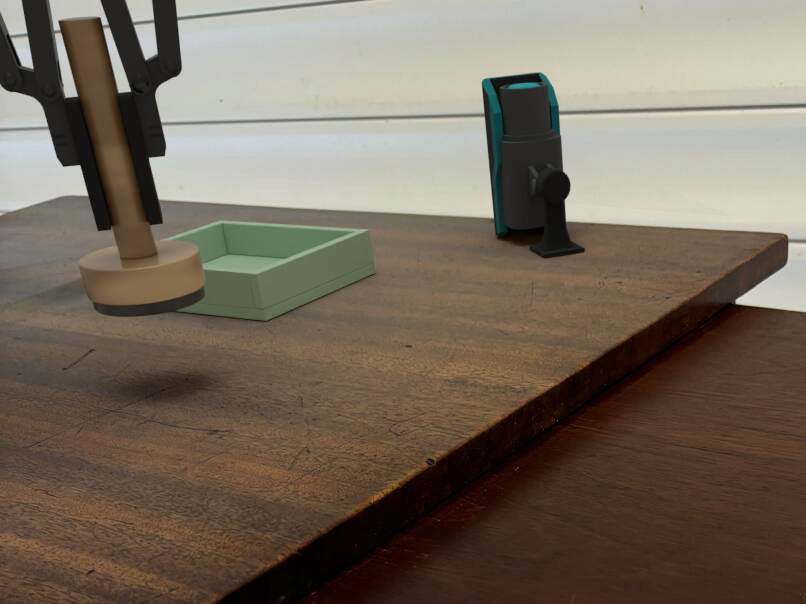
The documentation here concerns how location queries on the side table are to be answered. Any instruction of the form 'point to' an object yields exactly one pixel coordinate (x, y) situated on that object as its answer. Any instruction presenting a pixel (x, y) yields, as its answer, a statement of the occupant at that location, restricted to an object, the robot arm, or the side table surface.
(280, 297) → the tray
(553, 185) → the surveillance camera
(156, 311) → the peg on round base
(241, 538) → the side table surface
